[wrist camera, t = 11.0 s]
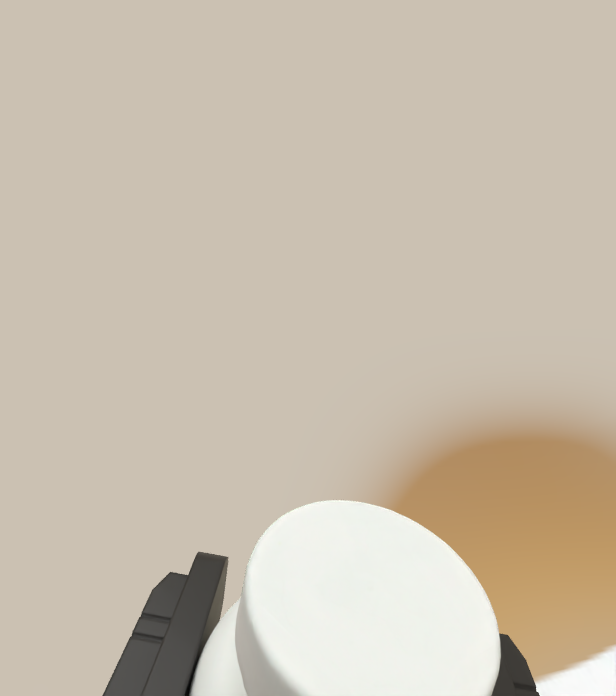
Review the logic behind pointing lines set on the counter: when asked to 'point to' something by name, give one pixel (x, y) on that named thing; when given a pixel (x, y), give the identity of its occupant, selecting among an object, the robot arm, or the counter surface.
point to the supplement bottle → (352, 613)
